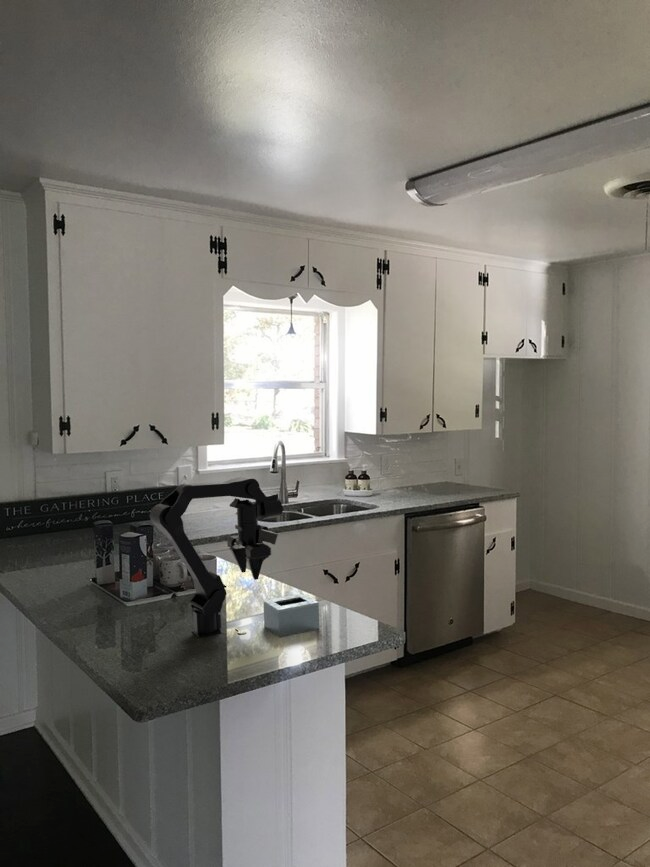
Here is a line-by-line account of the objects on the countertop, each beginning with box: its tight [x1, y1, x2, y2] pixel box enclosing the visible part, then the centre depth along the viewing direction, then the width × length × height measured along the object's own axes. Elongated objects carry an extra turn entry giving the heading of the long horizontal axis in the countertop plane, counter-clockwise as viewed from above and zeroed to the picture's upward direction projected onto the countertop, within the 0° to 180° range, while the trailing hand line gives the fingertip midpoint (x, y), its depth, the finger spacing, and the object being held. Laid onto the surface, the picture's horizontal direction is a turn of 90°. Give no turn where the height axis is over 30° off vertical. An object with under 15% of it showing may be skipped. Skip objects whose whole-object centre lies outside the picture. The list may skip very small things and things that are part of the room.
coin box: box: [263, 593, 320, 638], centre depth 202 cm, size 12×10×7 cm
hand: (249, 575), depth 209 cm, fingers open, 9 cm apart
